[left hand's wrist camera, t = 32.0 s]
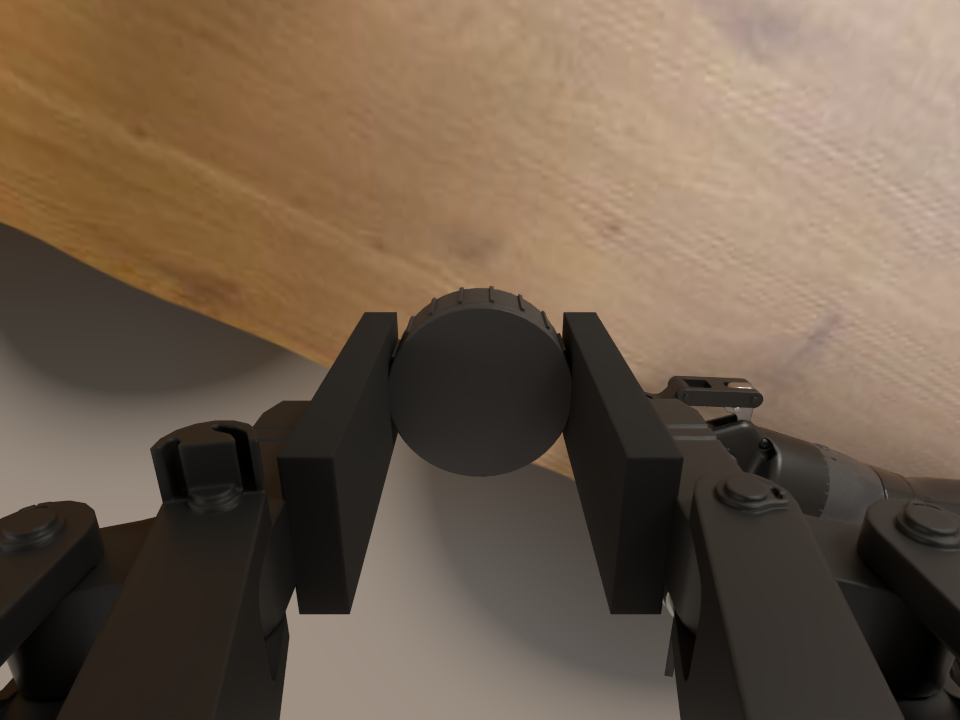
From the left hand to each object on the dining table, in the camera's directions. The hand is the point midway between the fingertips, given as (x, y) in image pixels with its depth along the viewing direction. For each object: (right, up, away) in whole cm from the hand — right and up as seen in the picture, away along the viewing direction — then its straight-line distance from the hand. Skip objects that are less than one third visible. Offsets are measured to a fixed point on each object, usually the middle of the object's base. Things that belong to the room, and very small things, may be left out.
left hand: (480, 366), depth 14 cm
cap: (0, 0, -1) cm, 1 cm away
